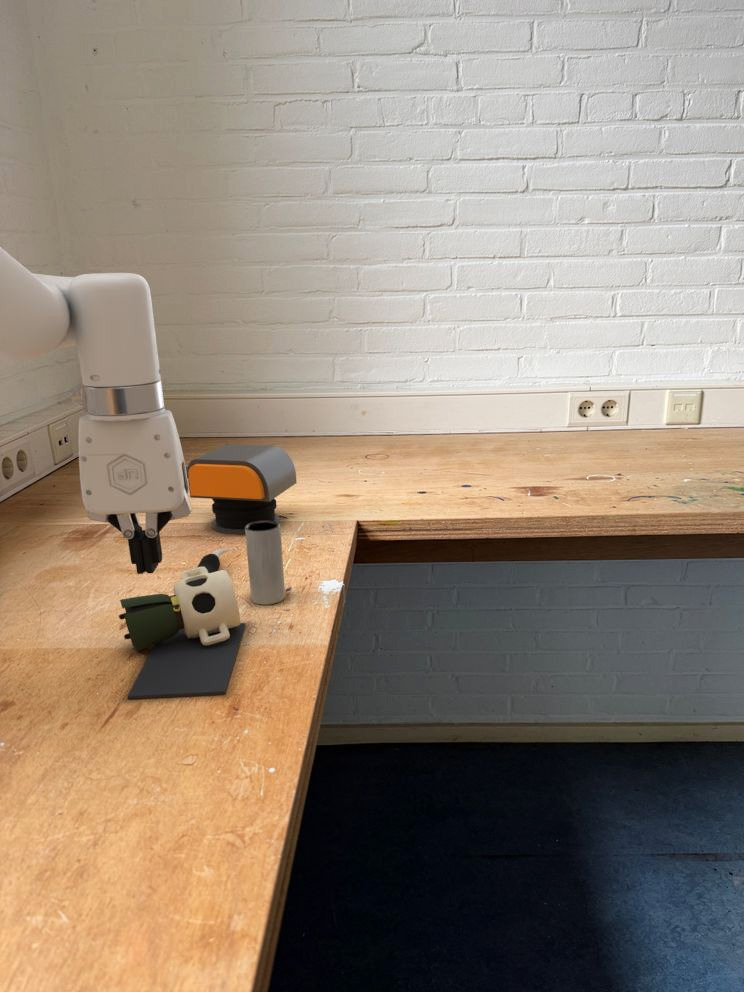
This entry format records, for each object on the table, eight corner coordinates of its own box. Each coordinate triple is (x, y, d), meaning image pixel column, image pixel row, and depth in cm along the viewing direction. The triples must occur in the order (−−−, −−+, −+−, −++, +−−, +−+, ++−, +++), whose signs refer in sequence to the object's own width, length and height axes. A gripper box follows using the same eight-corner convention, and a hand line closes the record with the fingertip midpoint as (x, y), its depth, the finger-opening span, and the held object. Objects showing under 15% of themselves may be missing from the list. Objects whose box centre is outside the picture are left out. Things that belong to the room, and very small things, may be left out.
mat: (127, 699, 82) (127, 696, 82) (163, 629, 98) (163, 626, 98) (225, 694, 83) (224, 691, 83) (245, 625, 99) (245, 622, 99)
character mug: (107, 572, 92) (218, 545, 96) (116, 606, 97) (221, 578, 102) (127, 651, 86) (244, 617, 91) (136, 681, 92) (246, 649, 96)
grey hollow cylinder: (245, 603, 106) (238, 529, 102) (260, 590, 110) (254, 519, 107) (276, 606, 104) (270, 532, 101) (291, 593, 109) (285, 521, 105)
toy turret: (176, 506, 150) (168, 440, 146) (301, 513, 144) (296, 444, 140) (133, 530, 137) (123, 458, 133) (269, 539, 131) (262, 463, 127)
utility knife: (209, 558, 123) (207, 540, 122) (235, 557, 123) (233, 539, 122) (178, 616, 102) (175, 594, 101) (209, 615, 102) (207, 593, 101)
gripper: (36, 409, 77) (66, 585, 83) (192, 404, 78) (211, 578, 84) (62, 397, 84) (89, 560, 90) (205, 392, 85) (222, 554, 91)
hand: (148, 568), depth 87 cm, fingers closed
